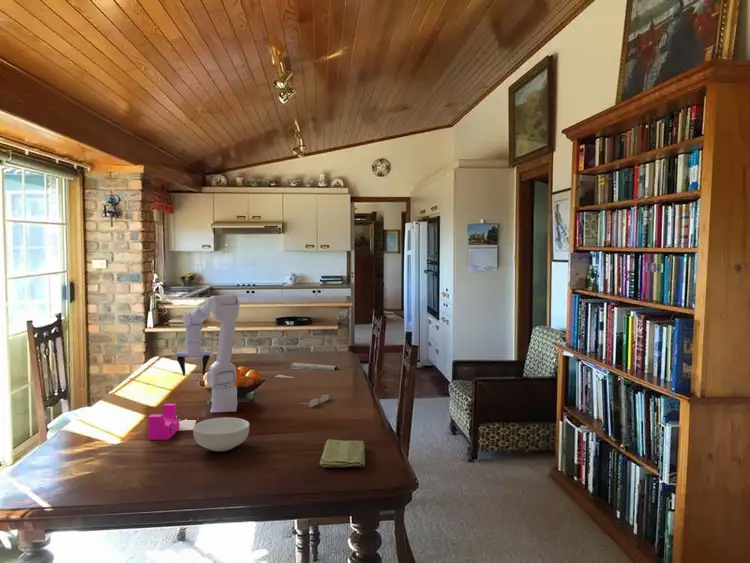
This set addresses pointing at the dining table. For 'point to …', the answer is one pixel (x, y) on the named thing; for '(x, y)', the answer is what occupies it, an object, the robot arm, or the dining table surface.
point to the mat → (309, 366)
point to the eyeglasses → (315, 401)
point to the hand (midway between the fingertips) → (193, 374)
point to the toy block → (163, 423)
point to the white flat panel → (186, 424)
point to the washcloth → (343, 454)
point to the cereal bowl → (221, 433)
